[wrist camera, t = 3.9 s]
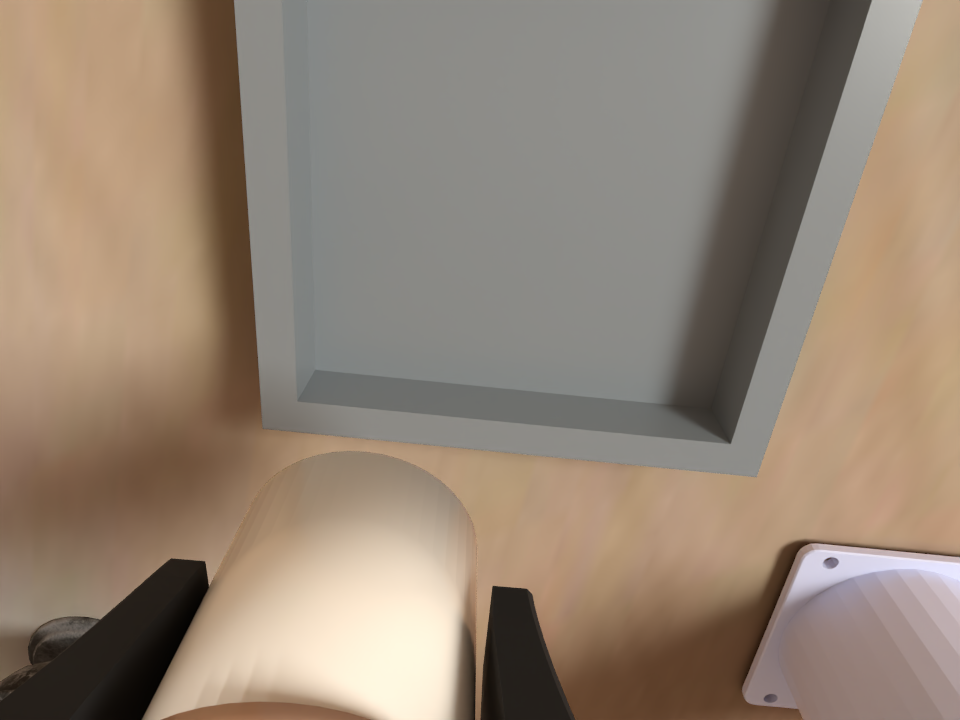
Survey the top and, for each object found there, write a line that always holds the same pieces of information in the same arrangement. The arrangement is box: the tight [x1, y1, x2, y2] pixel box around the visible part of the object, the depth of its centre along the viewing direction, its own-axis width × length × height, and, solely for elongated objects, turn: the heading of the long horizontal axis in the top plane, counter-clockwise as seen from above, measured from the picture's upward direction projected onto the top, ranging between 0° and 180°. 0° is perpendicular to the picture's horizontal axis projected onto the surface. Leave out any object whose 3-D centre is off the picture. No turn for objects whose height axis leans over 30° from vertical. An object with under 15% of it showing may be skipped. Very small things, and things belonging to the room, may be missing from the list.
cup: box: [142, 451, 477, 720], centre depth 11 cm, size 5×5×6 cm
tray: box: [234, 0, 923, 477], centre depth 16 cm, size 14×14×2 cm
